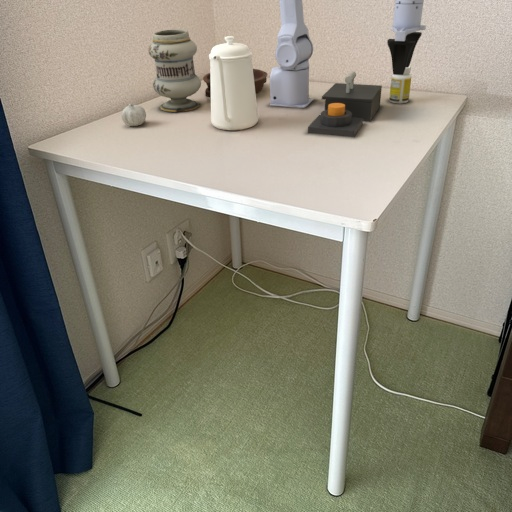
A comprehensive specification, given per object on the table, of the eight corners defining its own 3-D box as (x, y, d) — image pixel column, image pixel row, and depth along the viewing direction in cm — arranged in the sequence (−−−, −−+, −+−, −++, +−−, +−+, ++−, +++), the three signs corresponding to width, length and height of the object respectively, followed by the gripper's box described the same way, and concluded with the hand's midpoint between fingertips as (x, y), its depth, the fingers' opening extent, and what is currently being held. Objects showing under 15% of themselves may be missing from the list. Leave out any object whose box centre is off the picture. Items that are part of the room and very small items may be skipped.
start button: (325, 116, 105) (326, 106, 104) (330, 111, 108) (330, 102, 107) (342, 117, 104) (343, 108, 103) (346, 112, 106) (346, 103, 105)
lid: (321, 99, 112) (322, 79, 110) (335, 86, 122) (336, 67, 119) (371, 102, 108) (373, 81, 106) (381, 88, 118) (383, 68, 115)
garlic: (134, 130, 112) (130, 107, 110) (118, 126, 115) (114, 104, 112) (152, 122, 117) (149, 100, 114) (136, 119, 119) (132, 98, 116)
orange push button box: (307, 133, 106) (308, 117, 104) (319, 121, 113) (319, 105, 111) (353, 137, 102) (354, 121, 100) (362, 124, 109) (363, 108, 107)
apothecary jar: (159, 116, 121) (147, 37, 111) (154, 103, 131) (142, 30, 121) (207, 110, 124) (200, 32, 114) (198, 98, 133) (191, 26, 124)
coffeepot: (195, 142, 104) (185, 47, 93) (225, 108, 124) (219, 27, 114) (245, 144, 101) (240, 47, 91) (267, 109, 122) (265, 27, 112)
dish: (185, 97, 135) (183, 78, 132) (241, 81, 148) (240, 63, 146) (230, 107, 125) (229, 87, 122) (285, 89, 138) (285, 70, 135)
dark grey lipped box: (324, 118, 114) (325, 99, 112) (337, 103, 124) (338, 86, 121) (370, 122, 110) (371, 102, 108) (379, 106, 120) (381, 88, 118)
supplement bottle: (406, 98, 125) (411, 64, 121) (409, 103, 121) (414, 68, 117) (387, 98, 126) (391, 64, 121) (390, 104, 122) (393, 68, 117)
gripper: (424, 6, 95) (414, 79, 103) (433, -1, 106) (424, 64, 114) (387, 6, 98) (381, 77, 105) (400, -1, 109) (393, 63, 116)
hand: (401, 70), depth 110 cm, fingers open, 7 cm apart
